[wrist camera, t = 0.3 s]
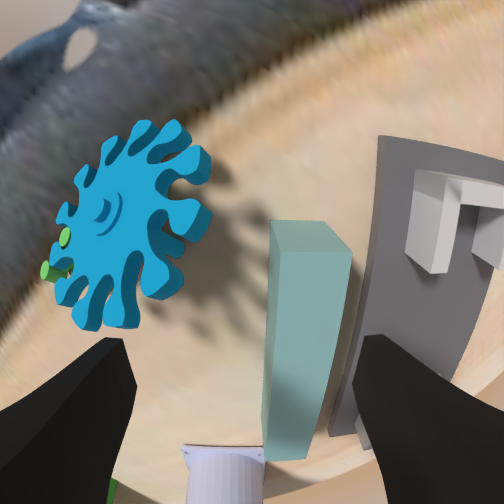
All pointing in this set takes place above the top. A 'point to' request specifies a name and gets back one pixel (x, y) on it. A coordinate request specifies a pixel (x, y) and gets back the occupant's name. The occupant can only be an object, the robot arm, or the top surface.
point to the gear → (127, 226)
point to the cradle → (425, 259)
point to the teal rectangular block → (300, 331)
